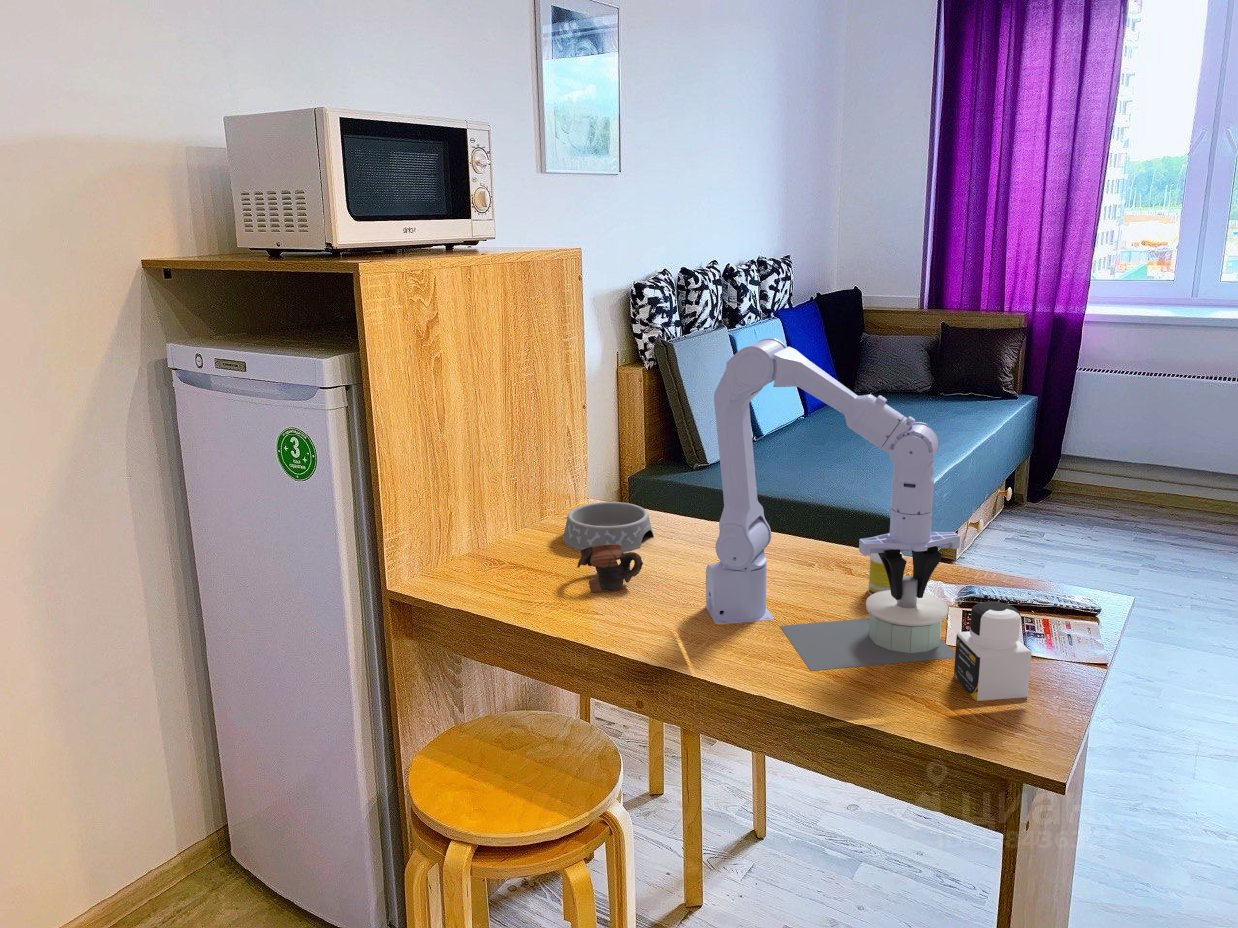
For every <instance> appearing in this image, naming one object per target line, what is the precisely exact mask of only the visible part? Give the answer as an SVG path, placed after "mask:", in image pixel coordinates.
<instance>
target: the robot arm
mask: <svg viewBox="0 0 1238 928" xmlns="http://www.w3.org/2000/svg"><path fill="white" fill-rule="evenodd" d="M770 383H773V388H788V387H789V388H790V387H792V388H793V387H797V388H799V389H801V390H803V391H804V392H806V393H807V394H809V395H810V396H812V397H814V398H816V399H817V400H820V401H821V402H823V403H824V404H826V405H827V406H829V407H831V408H833V409H834V410H835V411H838V412H839V413H840V414H842V415H843V416H844V418H845V421H846V422H845V423H846V426H847V428H848V429H850V430H852V431H853V432H854V433H856V434H857V435H859V436H860V437H862V438H863V439H864V440H866V441H868V443H871V444H872V445H874V446H875V447H877V448H878V449H879V450H881V451H882V452H885V453H888V455H889V459H890V462H891V463H892V464H893V475H892V477H891V478H892V480H891V494H890V495H891V497H890V517H889V518H890V519H889V520H890V521H889V522H890V523H889V532H888V533H885V534H880V535H876V536H871V537H864V538H859V539H858V541H859V543H858V544H859V545H858V551H859V552H860V553H861V555H863V556H864V557H867V556H869V557H870V555H871V554H872V553H878V554H879V556H880V558H881V560H882V563H883V565H884V567H885V570H886V573H887V576H888V580H889V584H890V590H891V595H892V596H893V597H894V598H895V599H896V600H901V597H902V581H903V576H904V574H905V569H906V567H907V566H906V565H907V563H908V562H907V560H906V559H905V558H904V559H903V558H902V554H903V553H902V554H900V552H907V551H908V552H909V551H911V554H912V555H911V556H912V570H913V571H912V577H915V578H917V579H918V587H917V597H918V598H923V594H924V593H925V592H926V588H927V585H928V583H929V581H930V578H931V576H932V575H933V572H934V571H935V569H936V568H937V567H938V565H939V564H940V562H942V553H941V552H939V549H946V548H950V549H952V550H957V549H960V545H961V536H960V535H959V534H958V533H956V532H954V531H950V532H949V531H945V532H943V531H940V532H939V531H932V520H933V519H932V518H933V504H934V503H933V502H934V485H935V479H934V473H935V467H934V464H935V463H934V456H935V455H936V454H937V451H938V448H939V438H938V436H937V434H936V432H935V430H934V429H932V427H930V426H929V424H928V423H926V422H922V421H916V419H915V418H914V417H913V416H911V415H910V416H908V417H906V416H905V415H903V414H902V413H901V412H899V411H898V410H896V409H894V408H893V407H891V406H890V405H888V404H887V401H888V399H887V398H886V397H884V396H882V395H878V396H877V397H876V396H875V395H873V394H863V395H857V394H856V393H855V392H853V391H852V390H851V389H850V388H848V387H847V386H845V385H844V384H843V383H841V382H840V381H838V380H837V379H835V378H834V377H832V376H831V375H830V374H829V373H827V372H826V371H825V370H823V369H822V368H821V367H819V366H818V365H816V364H815V363H814V362H812V361H810V360H809V359H808V358H807V357H805V355H803V354H802V353H801V352H800V351H799V350H797V349H795V348H793V347H791V346H787V345H786V344H785V343H783V341H781V340H780V339H776V338H773V337H767V338H763V339H761V340H758V341H757V342H756V343H753V344H752V345H749V346H745V347H743V348H741V349H740V350H738V351H736V353H734V355H733V356H731V357H730V358H729V359H728V360H727V361H726V365H725V369H724V372H723V374H722V376H721V379H720V381H719V382H718V384H717V387H716V389H715V391H714V393H713V394H714V395H713V404H714V411H715V412H714V413H715V423H716V433H717V443H718V444H717V446H718V455H719V464H720V465H719V466H720V477H721V487H722V495H723V496H722V497H723V504H724V505H723V509H722V513H721V516H720V519H719V522H718V527H719V528H718V529H719V531H718V532H719V533H718V538H717V540H716V542H715V553H716V556H717V558H718V559H719V561H717V562H716V563H711V564H708V565H706V569H705V604H704V607H705V608H706V610H707V612H708V613H709V615H710V617H711V619H712V620H713V623H714V624H715V625H727V624H738V623H751V622H761V621H772V620H774V619H775V617H773V614H772V613H771V612H770V611H769V609H768V608H767V563H768V561H767V556H766V554H765V549H766V548H767V547H768V546H769V544H770V542H771V539H772V531H771V527H770V524H769V522H768V521H767V520H766V518H765V513H764V511H765V510H764V509H765V508H764V507H763V505H762V504H761V503H760V502H759V500H758V491H757V490H758V487H757V480H756V479H757V478H756V468H755V458H754V457H755V455H754V445H753V433H752V422H751V409H750V402H751V401H752V400H753V399H754V398H755V397H756V396H757V395H758V394H759V393H760V391H762V390H763V388H764V387H766V386H767V385H769V384H770Z"/></svg>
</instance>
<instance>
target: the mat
mask: <svg viewBox="0 0 1238 928" xmlns="http://www.w3.org/2000/svg"><path fill="white" fill-rule="evenodd" d="M869 626H870V617H869V618H868V617H867V618H856V619H855V618H854V619H845V620H832V621H822V622H821V621H820V622H811V623H810V622H809V623H808V622H807V623H798V624H797V623H796V624H787V625H785V624H783V625H779V628H780V629H781V631H782V632H783V634H784V635H785V636H786V637H787V639H788V640H789V642H790V644H791V645H792V646H793V648H794V649H795V651H796V652H797V653H798V655H799V657H800V658H801V659H802V661H803V662H804V664H805V665H806V666H807V668H808V669H809V671H810V672H814V671H826V670H827V671H828V670H836V669H838V670H839V669H848V668H859V667H871V666H879V665H880V666H881V665H889V664H890V665H891V664H892V665H893V664H900V663H901V664H902V663H913V662H923V661H924V662H925V661H935V660H946V659H955V651H954V650H953V649H952V647H950V646H949V645H948V644H947V643H946V642H945V641H943V639H942V638H940V643H939V646H938V647H936V648H934V649H932V650H930V651H928V652H917V653H906V652H899V651H892V650H889V649H886V648H884V647H882V646H879V645H877V644H875V643H874V641H873V640H872V639H871V638H870V637H869Z"/></svg>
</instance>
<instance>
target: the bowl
mask: <svg viewBox="0 0 1238 928" xmlns="http://www.w3.org/2000/svg"><path fill="white" fill-rule="evenodd" d="M869 618H870V626H869V637H870V638H871V639H872V640H873V641H874V643H875V644H877V645H879V646H882V647H884V648H886V649H889V650H892V651H899V652H906V653H917V652H928V651H930V650H932V649H934V648H936V647H938V646H939V643H940V639H941V636H942V635H941V634H942V621H941V622H939V623H935V624H931V625H925V626H906V625H898V624H893V623H889V622H885V621H882V620H880V619H877V618H875V617H874V616H872V615H871V614H870V613H869Z"/></svg>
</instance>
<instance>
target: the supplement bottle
mask: <svg viewBox="0 0 1238 928" xmlns="http://www.w3.org/2000/svg"><path fill="white" fill-rule="evenodd" d="M900 554H902V558H903V559H904V560H905V557H904V554H903V553H902V551H900ZM868 568H869V570H868V589H867V591H868V594H870V596H871V595H872V594H874V593H877V592H881V591H886V590H890V584H889V580H888V576H887V573H886V570H885V567H884V565H883V563H882V560H881V558H880V556H879V554H878V553H872V554H871V555H869V567H868Z"/></svg>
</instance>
